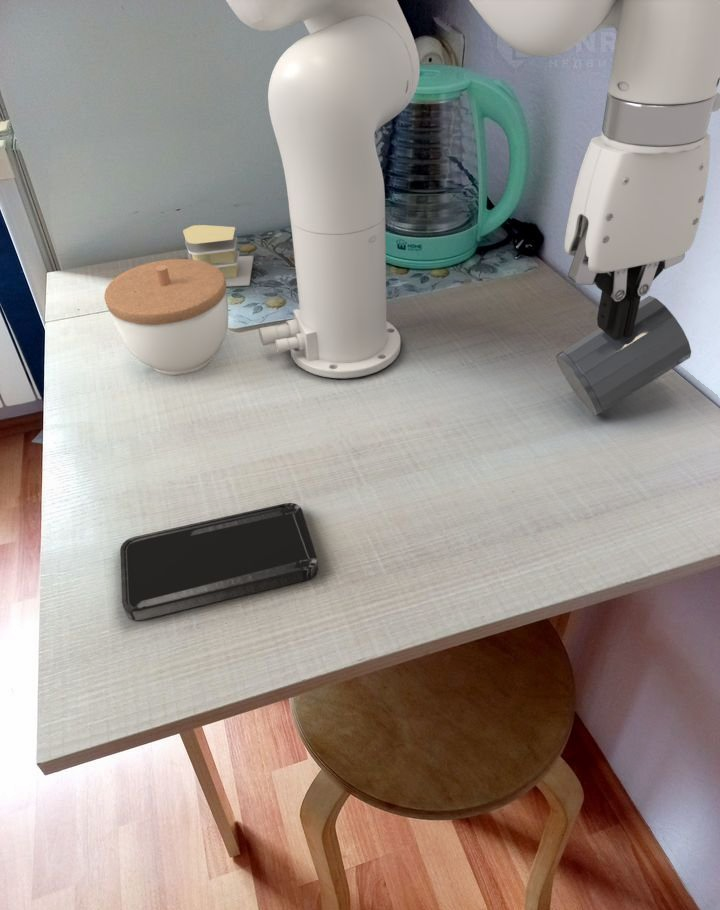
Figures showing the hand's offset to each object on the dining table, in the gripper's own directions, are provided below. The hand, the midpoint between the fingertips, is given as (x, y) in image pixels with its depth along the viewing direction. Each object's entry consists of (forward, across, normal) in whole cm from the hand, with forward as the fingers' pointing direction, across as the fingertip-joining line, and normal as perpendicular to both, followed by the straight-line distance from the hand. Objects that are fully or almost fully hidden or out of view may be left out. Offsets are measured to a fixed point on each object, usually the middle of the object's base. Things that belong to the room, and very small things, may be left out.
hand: (614, 331), depth 65 cm
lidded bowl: (+8, +39, -25) cm, 46 cm away
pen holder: (+6, +3, -1) cm, 6 cm away
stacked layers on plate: (+8, +32, -45) cm, 55 cm away
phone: (+8, +39, +7) cm, 41 cm away
